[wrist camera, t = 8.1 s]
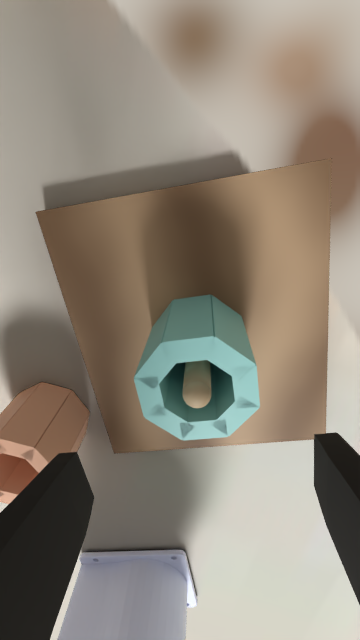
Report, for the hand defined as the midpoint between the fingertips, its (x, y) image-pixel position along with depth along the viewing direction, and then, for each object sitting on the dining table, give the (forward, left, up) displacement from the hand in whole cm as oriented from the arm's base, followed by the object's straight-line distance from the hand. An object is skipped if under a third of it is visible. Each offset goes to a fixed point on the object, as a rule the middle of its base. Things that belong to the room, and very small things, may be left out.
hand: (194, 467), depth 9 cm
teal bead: (0, 0, -9) cm, 9 cm away
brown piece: (0, 0, -10) cm, 10 cm away
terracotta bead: (-11, -5, -10) cm, 15 cm away
